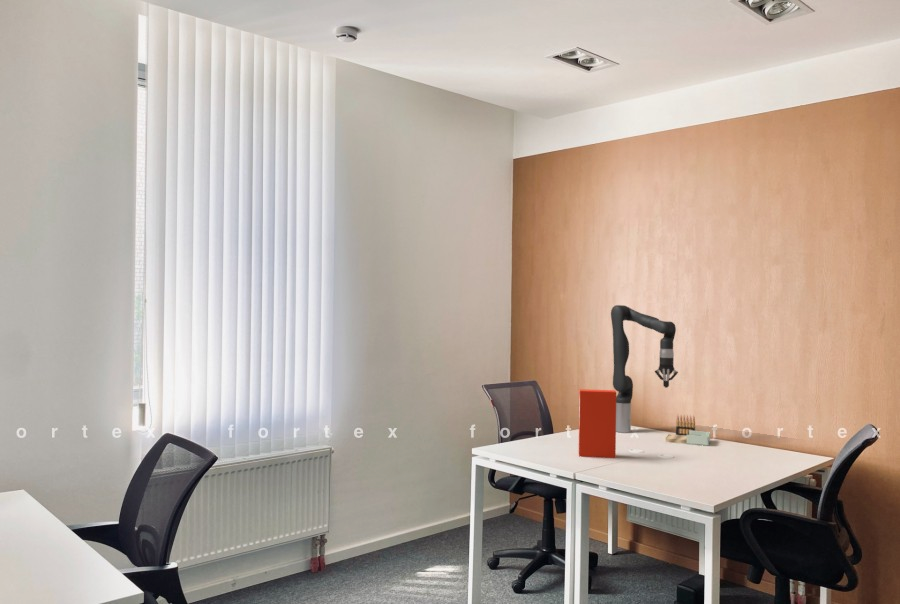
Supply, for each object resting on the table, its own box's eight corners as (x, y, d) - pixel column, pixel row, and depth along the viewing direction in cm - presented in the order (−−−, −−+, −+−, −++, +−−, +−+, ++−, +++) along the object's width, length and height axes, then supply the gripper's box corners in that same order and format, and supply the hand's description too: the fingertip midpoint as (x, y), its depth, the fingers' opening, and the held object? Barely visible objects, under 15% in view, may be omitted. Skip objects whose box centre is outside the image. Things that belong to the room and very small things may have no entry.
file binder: (615, 458, 320) (616, 392, 321) (579, 456, 323) (580, 390, 324) (614, 454, 328) (614, 390, 329) (578, 453, 331) (579, 389, 332)
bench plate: (665, 441, 365) (665, 438, 365) (668, 437, 378) (668, 434, 378) (686, 443, 360) (686, 440, 360) (689, 439, 373) (689, 435, 373)
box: (686, 444, 359) (686, 434, 360) (689, 439, 374) (689, 430, 374) (708, 446, 355) (708, 436, 355) (710, 441, 369) (710, 432, 369)
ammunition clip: (695, 436, 385) (695, 415, 385) (695, 436, 383) (695, 415, 383) (676, 434, 389) (676, 414, 389) (675, 435, 387) (675, 414, 388)
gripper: (653, 356, 374) (653, 387, 373) (678, 357, 368) (677, 388, 368) (655, 355, 381) (654, 386, 380) (679, 356, 375) (679, 387, 375)
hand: (666, 387), depth 374 cm, fingers closed
